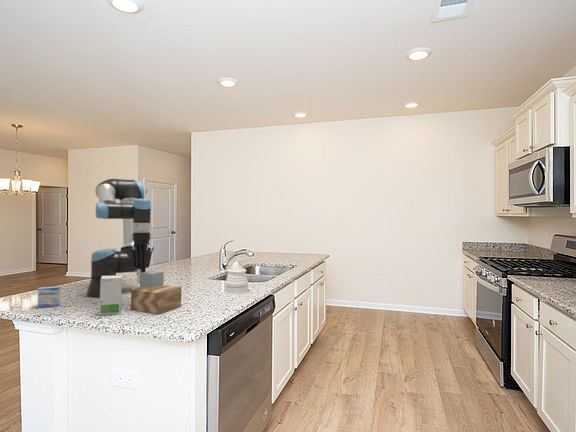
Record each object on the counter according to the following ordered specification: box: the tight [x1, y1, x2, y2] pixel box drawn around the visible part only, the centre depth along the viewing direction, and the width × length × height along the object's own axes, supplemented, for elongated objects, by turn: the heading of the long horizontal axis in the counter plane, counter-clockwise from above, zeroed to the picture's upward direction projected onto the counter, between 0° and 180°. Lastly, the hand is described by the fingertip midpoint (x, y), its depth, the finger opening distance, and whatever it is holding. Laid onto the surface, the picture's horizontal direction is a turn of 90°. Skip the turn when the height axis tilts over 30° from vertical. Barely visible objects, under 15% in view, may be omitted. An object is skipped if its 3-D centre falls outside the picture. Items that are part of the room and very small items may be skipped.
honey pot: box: [224, 258, 249, 295], centre depth 190 cm, size 13×13×18 cm
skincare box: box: [98, 275, 123, 316], centre depth 145 cm, size 8×7×16 cm
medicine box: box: [37, 285, 61, 309], centre depth 153 cm, size 8×4×9 cm, turn 118°
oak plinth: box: [130, 284, 182, 315], centre depth 154 cm, size 16×14×9 cm
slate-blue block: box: [139, 270, 165, 290], centre depth 155 cm, size 7×7×7 cm
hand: (140, 282), depth 157 cm, fingers closed
